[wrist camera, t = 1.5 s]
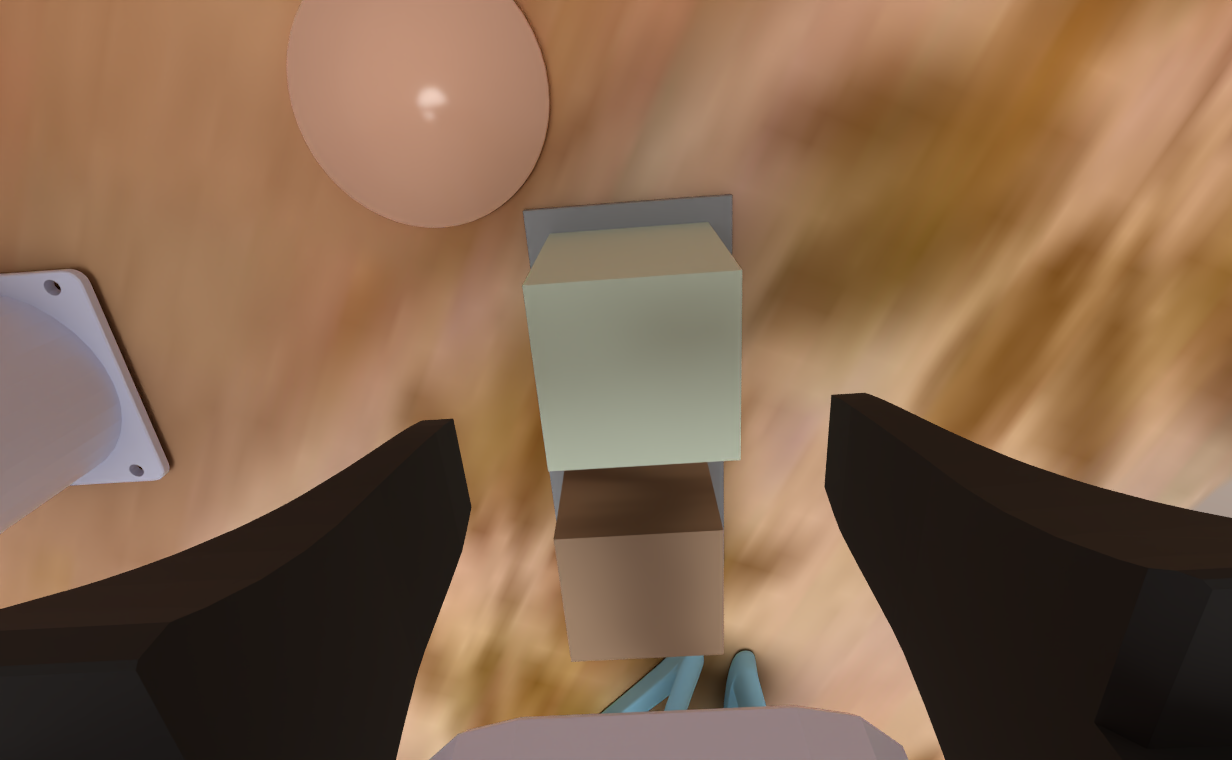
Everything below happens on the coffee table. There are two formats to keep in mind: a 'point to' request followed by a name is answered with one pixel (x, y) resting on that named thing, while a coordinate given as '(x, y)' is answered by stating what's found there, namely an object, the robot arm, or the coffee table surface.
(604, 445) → the sage block
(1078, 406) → the coffee table surface
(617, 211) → the code card
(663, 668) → the chair
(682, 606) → the walnut block
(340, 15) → the tan round disc
